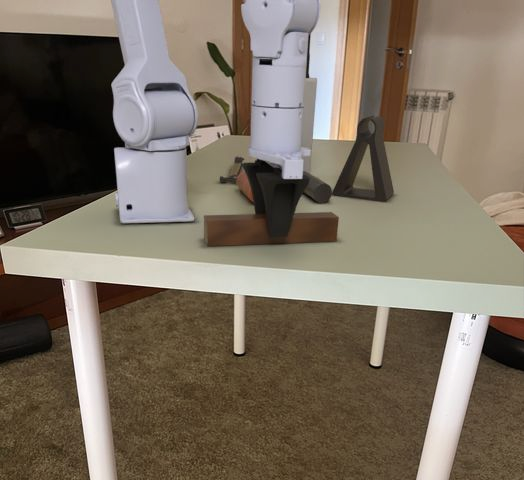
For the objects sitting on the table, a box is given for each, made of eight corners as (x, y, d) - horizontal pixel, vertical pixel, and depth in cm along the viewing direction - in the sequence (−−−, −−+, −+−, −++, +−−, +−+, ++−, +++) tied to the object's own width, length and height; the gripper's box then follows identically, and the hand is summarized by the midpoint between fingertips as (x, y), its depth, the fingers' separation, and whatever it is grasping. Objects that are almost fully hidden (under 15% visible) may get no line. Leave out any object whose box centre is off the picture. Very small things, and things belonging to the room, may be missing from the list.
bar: (207, 246, 64) (207, 220, 63) (204, 240, 66) (203, 215, 65) (336, 241, 68) (339, 217, 67) (329, 235, 70) (331, 211, 69)
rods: (249, 204, 83) (250, 184, 82) (235, 190, 91) (236, 171, 90) (331, 203, 86) (333, 183, 85) (310, 189, 95) (311, 170, 93)
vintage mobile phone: (309, 177, 104) (321, 22, 92) (309, 182, 99) (321, 20, 87) (289, 176, 104) (298, 21, 92) (288, 181, 99) (297, 19, 88)
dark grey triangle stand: (331, 195, 91) (339, 116, 85) (342, 188, 96) (349, 113, 90) (386, 202, 88) (397, 120, 82) (393, 194, 93) (405, 117, 87)
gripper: (335, 113, 55) (323, 246, 61) (293, 101, 67) (286, 213, 74) (267, 112, 53) (261, 248, 60) (236, 100, 66) (234, 214, 72)
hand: (271, 229), depth 67 cm, fingers open, 5 cm apart
